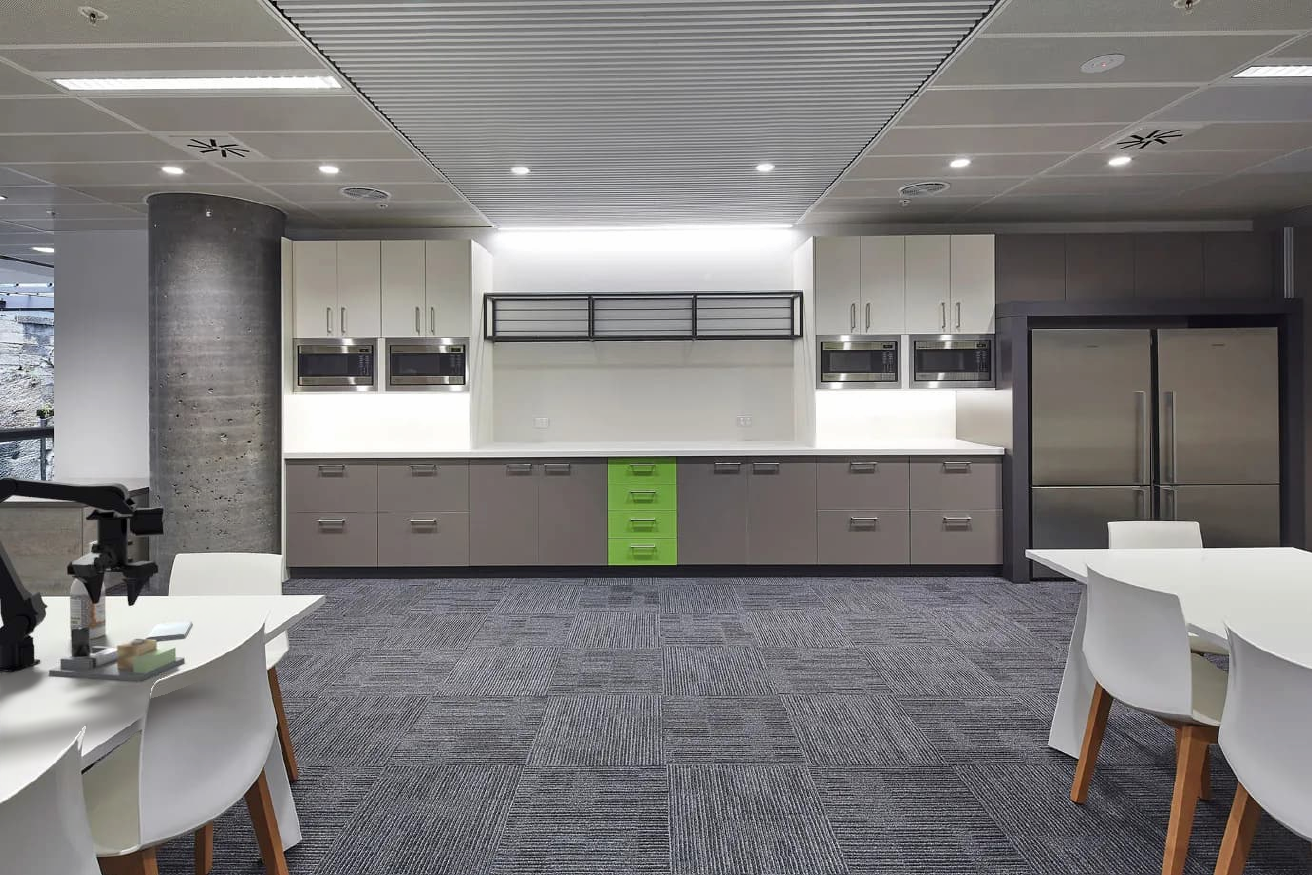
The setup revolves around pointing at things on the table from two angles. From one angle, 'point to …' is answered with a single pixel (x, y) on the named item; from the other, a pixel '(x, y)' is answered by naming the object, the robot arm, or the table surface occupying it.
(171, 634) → the hard drive
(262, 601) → the table surface
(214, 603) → the table surface
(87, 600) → the bath foam
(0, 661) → the robot arm
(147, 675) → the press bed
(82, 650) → the ram
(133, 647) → the housing
